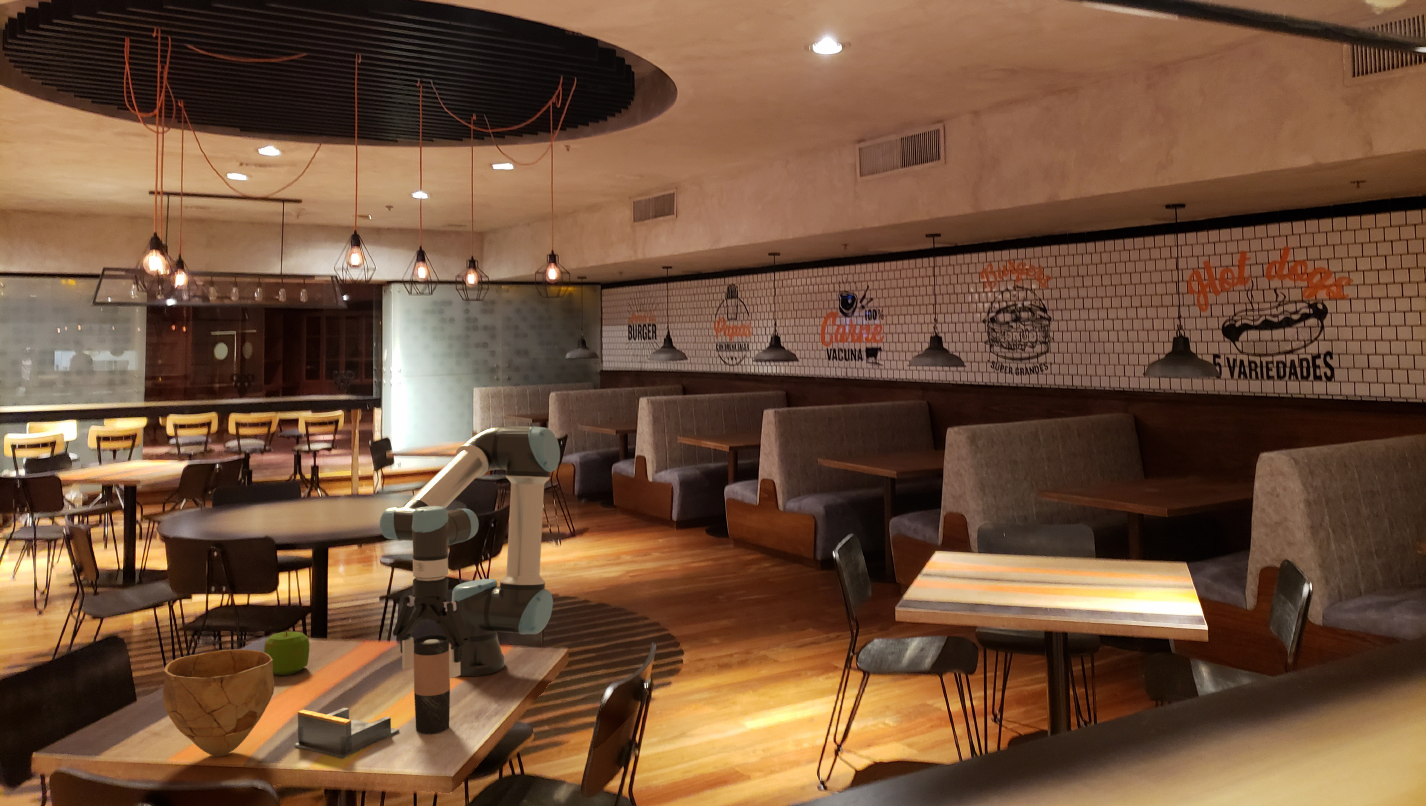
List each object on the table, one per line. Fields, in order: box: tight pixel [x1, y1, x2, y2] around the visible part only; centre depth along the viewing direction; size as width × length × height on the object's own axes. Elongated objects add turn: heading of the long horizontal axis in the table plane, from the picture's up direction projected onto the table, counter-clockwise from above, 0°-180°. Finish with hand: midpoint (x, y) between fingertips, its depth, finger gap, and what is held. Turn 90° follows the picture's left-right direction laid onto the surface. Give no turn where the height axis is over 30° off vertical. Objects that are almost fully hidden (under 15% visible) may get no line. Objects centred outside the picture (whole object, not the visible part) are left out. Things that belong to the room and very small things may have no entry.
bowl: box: [162, 648, 275, 758], centre depth 202 cm, size 21×20×20 cm
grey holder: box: [294, 707, 400, 760], centre depth 211 cm, size 16×14×7 cm
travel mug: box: [413, 634, 451, 735], centre depth 217 cm, size 8×8×20 cm
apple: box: [263, 630, 311, 676], centre depth 258 cm, size 11×11×11 cm
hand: (431, 672), depth 216 cm, fingers open, 13 cm apart
